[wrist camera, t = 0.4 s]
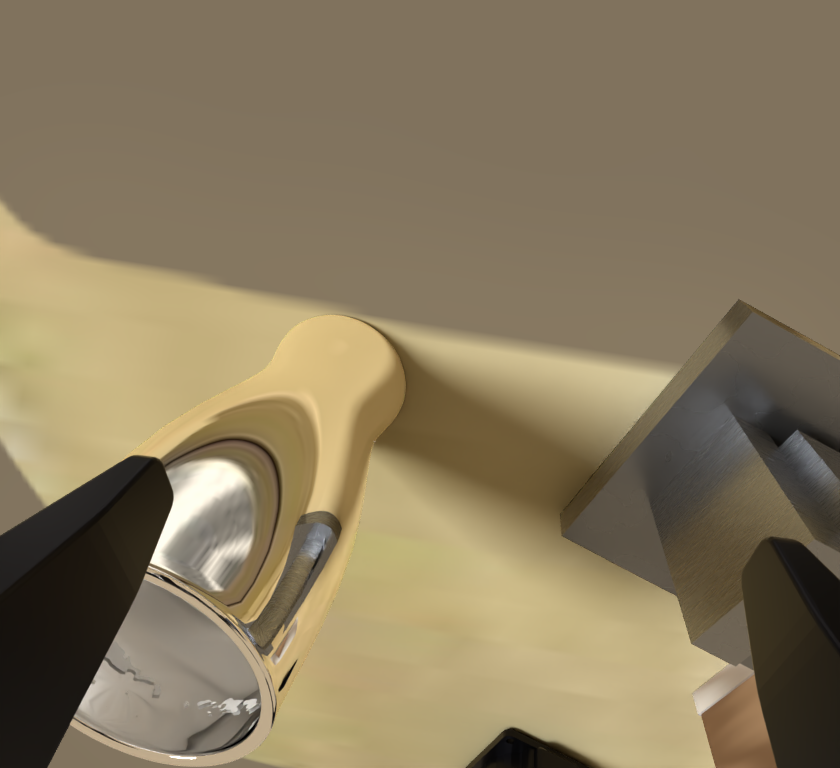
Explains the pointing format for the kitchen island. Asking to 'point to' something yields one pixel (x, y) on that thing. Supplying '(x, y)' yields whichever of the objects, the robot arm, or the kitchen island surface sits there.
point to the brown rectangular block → (734, 719)
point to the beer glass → (246, 548)
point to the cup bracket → (722, 474)
